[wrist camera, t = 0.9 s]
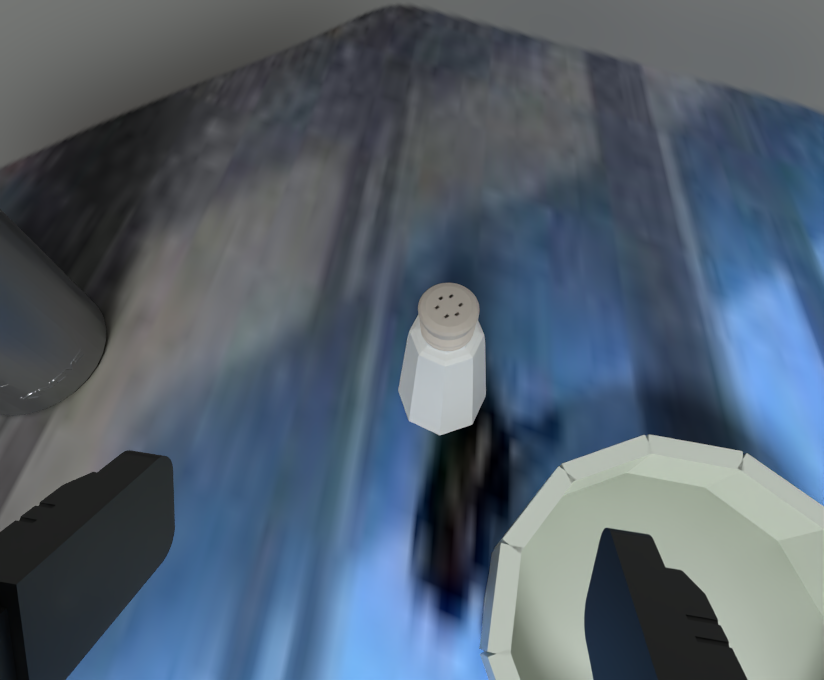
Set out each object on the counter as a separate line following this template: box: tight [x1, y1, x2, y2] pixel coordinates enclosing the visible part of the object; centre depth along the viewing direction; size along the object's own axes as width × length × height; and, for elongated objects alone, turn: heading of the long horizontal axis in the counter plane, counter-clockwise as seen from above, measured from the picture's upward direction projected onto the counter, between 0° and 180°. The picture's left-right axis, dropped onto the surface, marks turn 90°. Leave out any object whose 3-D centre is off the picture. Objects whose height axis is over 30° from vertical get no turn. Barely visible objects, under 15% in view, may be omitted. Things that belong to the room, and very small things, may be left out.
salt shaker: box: [398, 283, 486, 435], centre depth 31 cm, size 5×5×11 cm
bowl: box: [479, 434, 824, 680], centre depth 28 cm, size 18×18×5 cm
